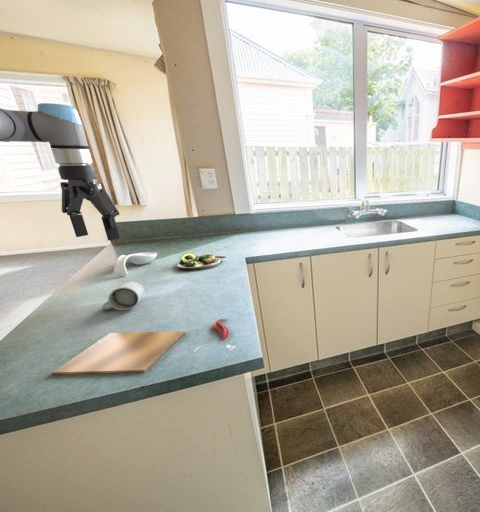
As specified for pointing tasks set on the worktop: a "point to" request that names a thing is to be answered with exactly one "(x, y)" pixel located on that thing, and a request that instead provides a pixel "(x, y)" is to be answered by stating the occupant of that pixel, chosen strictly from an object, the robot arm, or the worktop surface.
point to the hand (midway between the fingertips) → (98, 237)
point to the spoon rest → (132, 261)
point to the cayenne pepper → (220, 329)
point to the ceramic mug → (125, 296)
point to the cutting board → (121, 353)
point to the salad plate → (198, 261)
